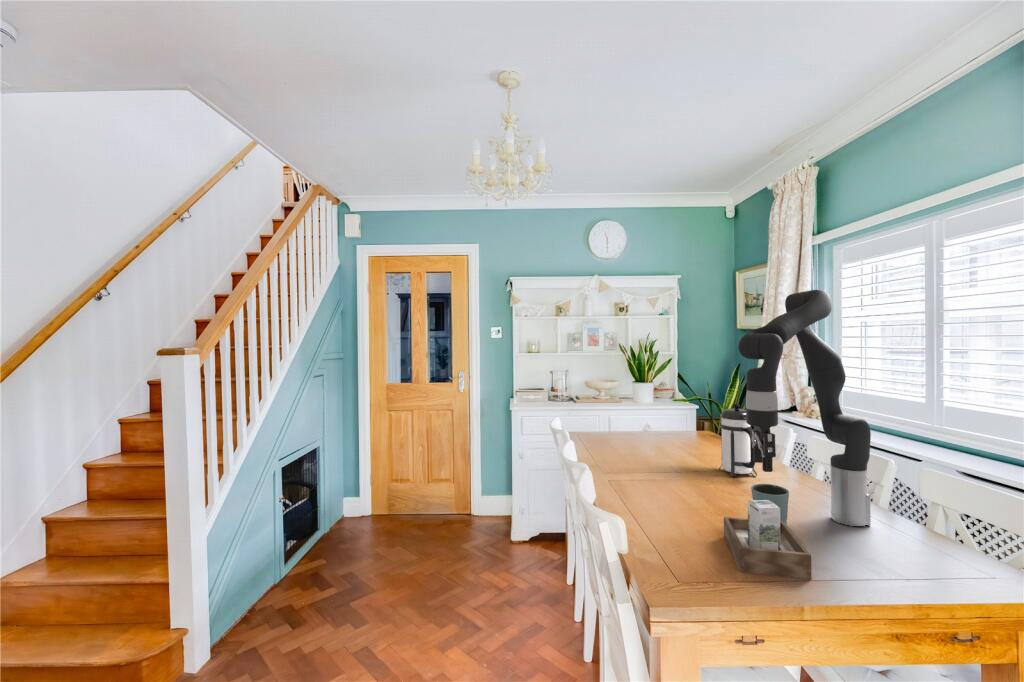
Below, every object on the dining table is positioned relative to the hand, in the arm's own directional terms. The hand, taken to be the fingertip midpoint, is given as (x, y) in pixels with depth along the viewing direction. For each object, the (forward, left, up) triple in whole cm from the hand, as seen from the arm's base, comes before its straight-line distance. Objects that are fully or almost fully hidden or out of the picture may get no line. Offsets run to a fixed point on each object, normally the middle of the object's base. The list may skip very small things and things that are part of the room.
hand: (762, 466), depth 122 cm
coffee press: (-10, -73, -24) cm, 78 cm away
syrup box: (0, +1, -24) cm, 24 cm away
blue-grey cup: (-7, -19, -24) cm, 32 cm away
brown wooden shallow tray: (0, +1, -24) cm, 24 cm away
